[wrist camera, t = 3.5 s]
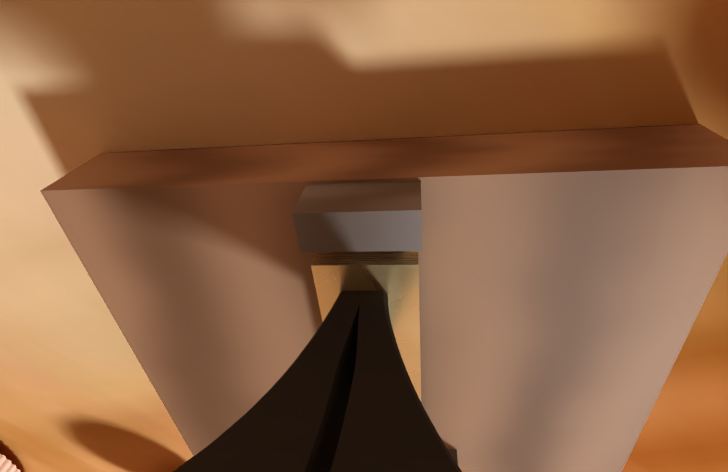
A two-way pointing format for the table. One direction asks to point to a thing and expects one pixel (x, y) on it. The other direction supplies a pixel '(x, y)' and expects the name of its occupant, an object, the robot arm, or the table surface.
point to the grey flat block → (420, 273)
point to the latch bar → (374, 274)
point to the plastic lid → (7, 465)
